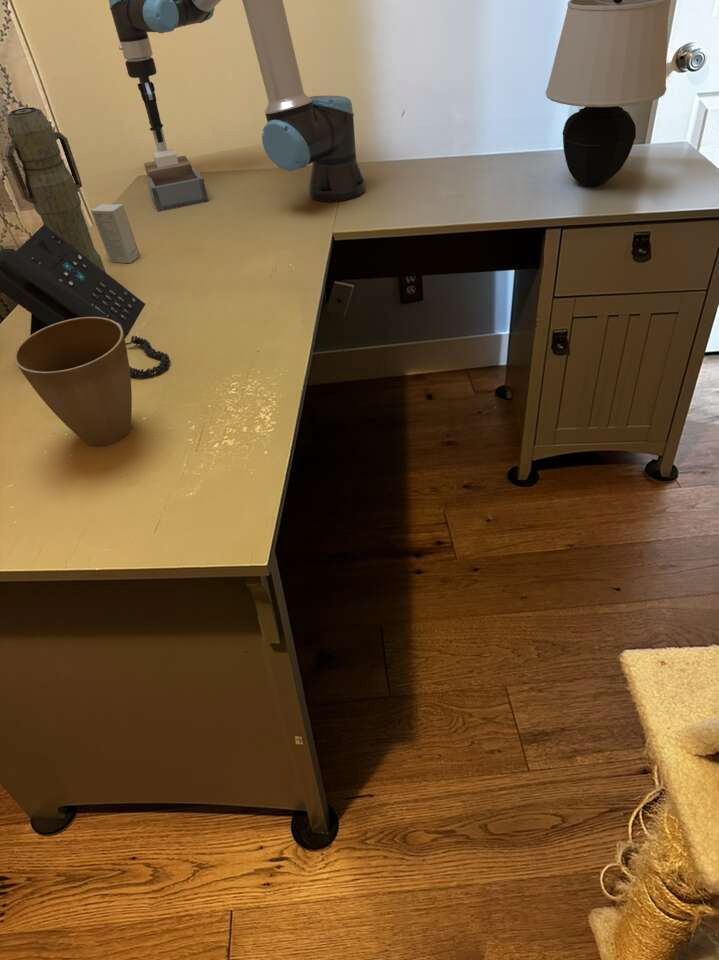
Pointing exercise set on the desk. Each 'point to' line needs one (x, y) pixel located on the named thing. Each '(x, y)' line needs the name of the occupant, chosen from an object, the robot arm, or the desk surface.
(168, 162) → the cream tile
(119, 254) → the skincare box
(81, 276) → the office phone
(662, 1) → the table lamp
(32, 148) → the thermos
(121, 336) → the plant pot
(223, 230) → the desk surface
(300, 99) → the robot arm
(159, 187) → the box
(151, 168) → the brown block
